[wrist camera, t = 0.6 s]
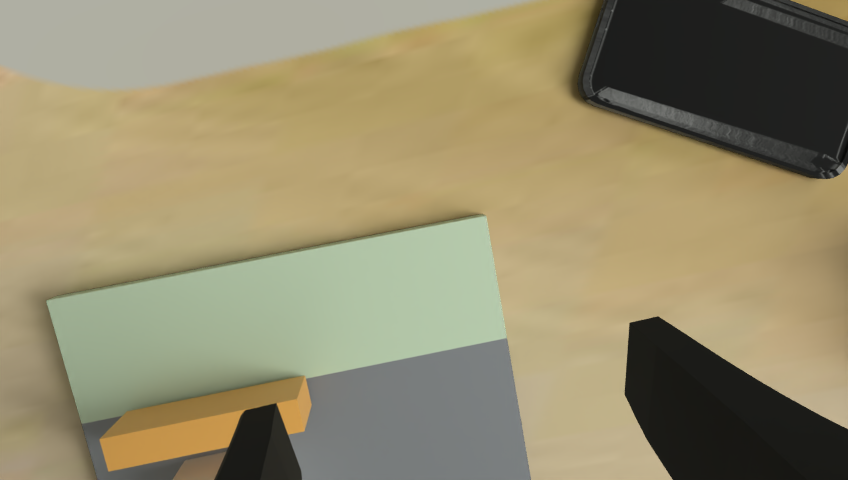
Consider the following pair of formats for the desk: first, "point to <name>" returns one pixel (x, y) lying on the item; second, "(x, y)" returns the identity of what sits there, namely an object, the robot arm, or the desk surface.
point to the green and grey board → (318, 353)
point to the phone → (728, 76)
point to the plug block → (200, 468)
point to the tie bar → (199, 423)
